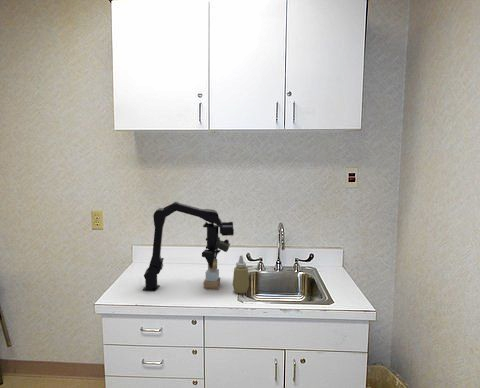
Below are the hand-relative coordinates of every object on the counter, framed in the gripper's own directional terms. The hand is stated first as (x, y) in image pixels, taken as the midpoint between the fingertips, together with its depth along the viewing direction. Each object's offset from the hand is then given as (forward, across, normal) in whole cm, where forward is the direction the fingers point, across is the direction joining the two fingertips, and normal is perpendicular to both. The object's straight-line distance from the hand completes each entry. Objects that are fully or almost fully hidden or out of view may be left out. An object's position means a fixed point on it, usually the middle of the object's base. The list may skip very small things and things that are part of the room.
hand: (212, 266), depth 181 cm
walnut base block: (+11, 0, 0) cm, 11 cm away
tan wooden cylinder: (+1, 0, 0) cm, 1 cm away
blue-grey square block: (+7, 0, 0) cm, 7 cm away
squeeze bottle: (+11, -4, -15) cm, 19 cm away
